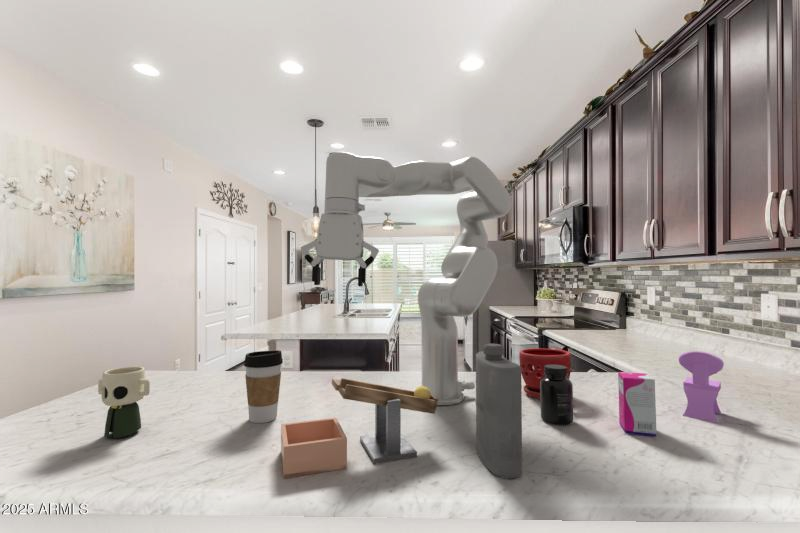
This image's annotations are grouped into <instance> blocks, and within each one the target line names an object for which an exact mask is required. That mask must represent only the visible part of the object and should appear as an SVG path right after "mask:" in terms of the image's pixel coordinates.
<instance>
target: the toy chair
mask: <svg viewBox="0 0 800 533" xmlns="http://www.w3.org/2000/svg"><path fill="white" fill-rule="evenodd" d="M678 362H679V365H680V366H681V367H683V369H685V370H686V371H687V372H690V373H691V374H692V377H690V376H687V377H686V379H684V381H683V383H682V384H683V386H682V387H683V388H682V389H683V392H684V394H685V396H686V399H687V405H686V408H685V411H684V413H683V414H682V415H683V417H688V418H693V419H696V420H697V419H698V420H701V421H706V422H713V423H717V424H718V423H719V421H718V418H717V416H716V414H721V413H722V412H721V410H720V407H719V404H718V400H717V398H718V396H719V393H720V390H721V388H722V386H721V384H722V383H721V381H719V380H718V381H717V380H710V376H713V375H716V374H717V373H718V372H721V371H722V370H723V368H724V367H725V366H724V365H725V364H724V361H723V359H721V357H719V356H717V355H714V354H712V353H709V352H706V351H698V350H692V351H691V350H690V351H686V352H683V353H681V354H680V355H679V356H678ZM715 413H716V414H715Z"/></svg>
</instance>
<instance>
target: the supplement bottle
mask: <svg viewBox="0 0 800 533" xmlns="http://www.w3.org/2000/svg"><path fill="white" fill-rule="evenodd" d="M544 374H545V377H543V378H542V379H541V381H540V399H539V400H540V418H541V419H542V421H544V422H545V423H547V424H551V425H555V426H568V425H572V424H573V422H574V389H573V387H574V386H573V382H572V381H571V379H570V378H569V379H568V378H567V376H568V373H567V367H566V366H562V365H545V366H544Z"/></svg>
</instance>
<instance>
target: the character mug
mask: <svg viewBox="0 0 800 533" xmlns="http://www.w3.org/2000/svg"><path fill="white" fill-rule="evenodd" d="M145 371H146V370H145V367H143V366H125V367H123V366H122V367H115V368H112V369H108V370H105V371H103V373H102V376H101V377H102V378H100V379H98V382H97V392H98V394H99V395H101V398H100V399H101V402H102V403H103V404H104V405H105V406H107V407H109V408H108V410H107V415H106V421H105V426H104V434H103V435H104V437H105V438H110V433H111V434H113V435H112V437H113V438H122V437H126V436H130V435H132V434H134V433H136V432H138V431H139V430H141V429H142V419H141V418H142V417H141V413H140V411H141V410H140V405H139V404H138V402H139V401H140V400H142V399H143V398H144V396H149V395H150V393H151V392H150V390H151V389H150V388H151V385H150V384H151V382H150V379H147V378H145V375H146V374H145V373H146V372H145Z"/></svg>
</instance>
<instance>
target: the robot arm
mask: <svg viewBox="0 0 800 533" xmlns="http://www.w3.org/2000/svg"><path fill="white" fill-rule="evenodd" d="M325 162H326V163H325V164H326V165H325V187H324V188H325V189H324V190H325V192H324V212H323V213H321V215H320V218H319V223H318V228H317V236H316V239H315V240H313V241H311V242H309V243H306V244H304V245H302V246H301V247H300V250H301V253H302V254H303V256H304V260H306V262H308V263H309V265H310V266H311V268H312V269H311V281H312V282H313V285H314V286H320V285H321V279H322V278H321V275H322V274H321V273H322V268H321V267H320V265H321V264H322V263H323V261H325V260H329V261H330V260H331V261H332V260H335V261H336V260H339V261H356V262H357V263H358V265H359V268H358V270H357V271H358V275H357V286H358V287H363V285H364V284H365V283H366V280H367V279H366V278H367V277H366V276H367V269H368V267H369V266H370V265H371V264H372V263H373V262H375V259H376V258H377V256H378V254H379V252H380V250H379V249H378V247H375V246H374V245H372V244H370V243H368V242H366V241H364V240H365V239H364V224H363V223H364V222H363V218H362V216H361V215H359V213H360V212H362V211H363V212H364V211H365V210H366V205H365V204H361V203H360V201H359V199H360V198H389V197H407V196H408V197H409V196H419V195H420V196H421V195H423V196H425V195H439V196H440V195H442V196H443V195H444V196H445V195H456V194H461V193H464V192H468V193H466V194H464V195H462V196H461V197H460V198H459V199H458V202H457V204H456V214H457V217H458V221H459V227H460V230H459V234H458V235H457V238H456V239H455V240H454V243H453V244H452V246H451V247H450V248H449V250H448V251H447V254H446V255H445V257H444V258H443V260H442V262H441V266H440V268H441V269H440V270H441V274H442V276H443V277H437V278H430V279H428V280H426V281H424V282H423V283H422V285H421V286H420V287H419V290H418V292H417V293H418V294H417V303H418V309H419V315H420V320H421V323H420V325H421V386H425V387H427V388H428V389H429V391H430V394H431V395H433V396H434V397H436V398H437V399H438V401H437V405H436V406H451V405H457V404H459V403H462V402H463V401H464V398H465V395H464V394H465V393H464V391H465V390H474V389H475V388H476V384H475V382H474V381H465V380H460V379H458V378H459V373H458V372H459V371H458V370H459V369H458V368H459V366H458V364H459V362H458V360H459V354H458V353H459V352H458V351H459V350H458V347H459V346H458V345H459V344H458V343H459V341H458V339H459V338H458V337H459V334H458V325H457V322H456V320H455V318H454V317H459V318H461V317H463V318H465V317H469V316H471V315H472V314H474V313H475V312H476V311H477V310H478V308H479V307H480V305H481V303H482V302H483V300H484V298H485V296H486V294H487V293H488V291H489V289H490V288H491V285H492V283H493V282H494V280H495V279H496V276H497V272H498V267H499V266H498V258H497V255H496V254H495V252H494V251H493V250H492V249H491V248H490V247H488V244H489V243H488V241H489V237H488V234H487V231H486V229H485V226H484V222H483V221H487V220H495V219H500V218H503V217H504V216H506V215H508V213H509V212H510V210H511V207H512V198H511V195H510V193H509V191H508V189H507V188H506V187H505V185H504V184H503V183H502V182H501V180H500V179H499V178H498V177H497V176H496V174H495V173H494V172H493V171H492V169H490V168H489V167H488V166H487V164H486V163H485V162H483V161H482V160H481V159H479V158H478V157H476V156H468V157H464V158H462V159H458V160H455V161H452V162H443V161H430V160H429V161H427V160H417V161H411V162H407V163H404V164H400V165H397V166H393V165H392V163H391V162H390V161H388V160H387V159H384V158H381V157H375V156H361V155H360V156H359V155H355V154H354V153H352V152H351V153H350V152H346V151H335V152H331V153H330V154H328V156H327V157H326V161H325ZM469 191H471V192H469ZM472 191H473V192H472ZM312 249H315V250H316V251H315V253H316V256H315V257H313V256H312V255H311V254H310V250H312ZM364 249H366V250H368V251H369V252H370V255H369V257H367V258H366V259H365V260H364V259H363V257H364Z"/></svg>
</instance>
